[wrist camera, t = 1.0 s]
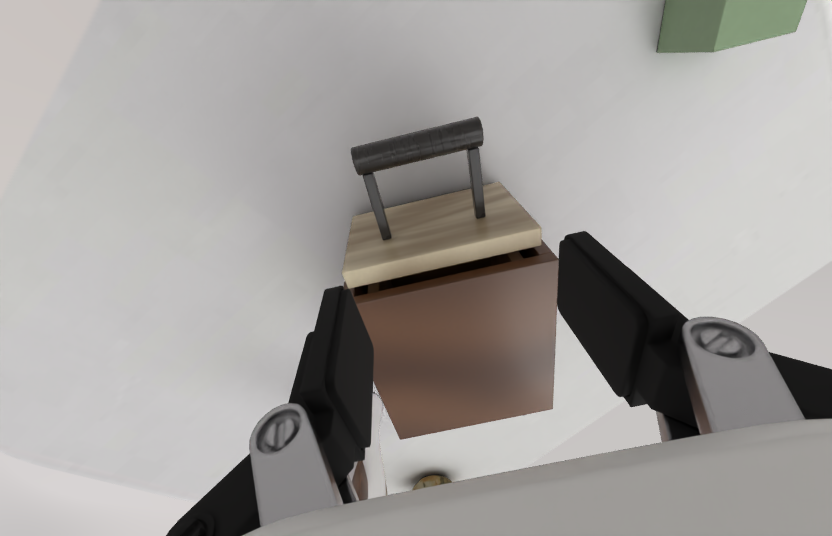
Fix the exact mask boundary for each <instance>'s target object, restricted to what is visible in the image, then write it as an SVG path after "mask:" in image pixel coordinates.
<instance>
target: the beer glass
mask: <svg viewBox="0 0 832 536" xmlns="http://www.w3.org/2000/svg"><path fill="white" fill-rule="evenodd" d="M382 411H383V403H382V400H381V399H380V397H379V396H377V395H376V394H374V393H373V399H372V430H371V445H370V447H368V448H365V460H363V461H358V462H354V468H353V469H352V471H351V472H350V473H349V476H350V479H351V481H352V484H353V486H354V489H355V491H356V494H357V496H358V498H359V501H362V500H367V499H371V498H376V497H381V496H386V495H387V486H386V477H385V471H384V464H383V458H382V453H381V446H380V436H379V430H380V421H381V416H382Z"/></svg>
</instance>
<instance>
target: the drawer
mask: <svg viewBox="0 0 832 536" xmlns="http://www.w3.org/2000/svg"><path fill="white" fill-rule="evenodd" d="M482 145H483V128H482V124H481V121H480V119H479V117H474V118H470V119H466V120H462V121H458V122H454V123H450V124H446V125H442V126H438V127H434V128H430V129H425V130H421V131H417V132H413V133H409V134H405V135H401V136H397V137H393V138H389V139H385V140H381V141H377V142H373V143H369V144H365V145H360V146H356V147H352V148H351V155H352V160H353V163H354V167H355V169H356V172H357V174H358V175H363V179H364V182H365V185H366V188H367V192H368V195H369V198H370V201H371V205H372V208H373V212H369V213H365V214H360V215H356V216H353V218H352V223H351V228H350V233H349V239H348V244H347V249H346V254H345V260H344V265H343V270H342V275H343V277H344V279H345V282H346V284H347V287H348V288H349V289H350V288H354V287H359V286H363V285H368V293H367V294H369V293H373V292H378V291H382V290H387V289H391V288H396V287H400V286H405V285H409V284H413V283H418V282H422V281H427V280H431V279H436V278H440V277H445V276H449V275H454V274H458V273H463V272H467V271H472V270H476V269H481V268H485V267H489V266H494V265H498V264H503V263H507V262H512V261H516V260H521V259H523V257H522V256H521V254H520V253H519V250H523V249H528V248H532V247H536V246H541V227H540V226H539V224H538V223H537V222H536V221H535V220H534V219H533V218H532V217H531V216H530V215H529V214H528V212H527V211H526V210H525V209H524V208H523V207H522V206H521V205H520V204H519V203H518V202H517V200H516V199H515V198H514V197H513V196H512V195H511V194H510V193H509V192H508V191H507V190H506V188H505V187H504V186H503V185H502V184H501V183H500V182H496V183H492V184H488V185H483V184H482V174H481V164H480V154H479V148H478V147H480V146H482ZM463 150H467V158H468V166H469V174H470V182H471V189H466V190H462V191H458V192H454V193H449V194H445V195H441V196H437V197H433V198H428V199H424V200H420V201H416V202H411V203H407V204H403V205H399V206H394V207H390V208H386V209H384V206H383V203H382V200H381V196H380V193H379V189H378V186H377V182H376V179H375V175H374V172H376V171H380V170H384V169H389V168H393V167H397V166H401V165H405V164H409V163H413V162H418V161H422V160H426V159H430V158H434V157H438V156H442V155H447V154H451V153H455V152H459V151H463Z"/></svg>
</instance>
